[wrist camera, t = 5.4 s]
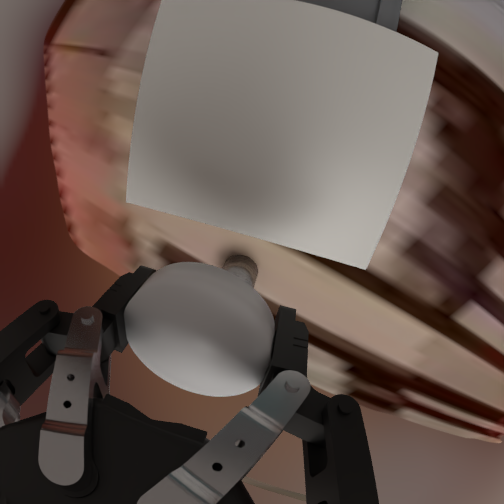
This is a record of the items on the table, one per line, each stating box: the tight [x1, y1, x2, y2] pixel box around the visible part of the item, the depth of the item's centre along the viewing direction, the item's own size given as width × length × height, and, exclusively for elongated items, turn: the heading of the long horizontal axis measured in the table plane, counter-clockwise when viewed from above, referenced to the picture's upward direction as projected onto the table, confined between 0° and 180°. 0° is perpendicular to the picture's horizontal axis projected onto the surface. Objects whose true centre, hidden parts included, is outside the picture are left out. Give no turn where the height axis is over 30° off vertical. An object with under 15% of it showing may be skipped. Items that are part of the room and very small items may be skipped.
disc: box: [124, 262, 276, 397], centre depth 11 cm, size 6×6×2 cm
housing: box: [126, 0, 438, 270], centre depth 19 cm, size 18×16×8 cm
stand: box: [222, 255, 258, 288], centre depth 29 cm, size 4×4×4 cm
